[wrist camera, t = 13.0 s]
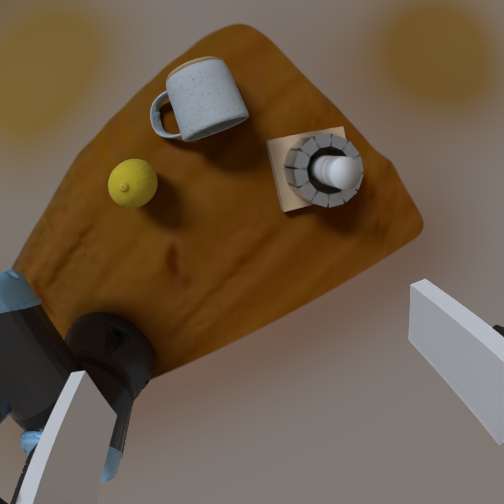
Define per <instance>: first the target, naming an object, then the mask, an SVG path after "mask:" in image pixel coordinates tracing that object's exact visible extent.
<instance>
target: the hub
mask: <svg viewBox="0 0 504 504" xmlns="http://www.w3.org/2000/svg"><path fill="white" fill-rule="evenodd" d="M319 148H321V149H324V150H326V151H327V152H328V153H329V154H330V155H331V156H344V157H351V158H353V159H354V160H356V161H357V163H358V164H359V165H360V169H361V172H363V167H362V161H361V156H357V155H358V154H359V152H358V151H357V150H356V148H355V147H354V146H353V145H352V143H351V142H350V141H347V139H345V138H343V137H340V136H338V135H335V134H330V133H328V134H322V135H315V136H310V137H305V138H302V139H299V140H298V141H297V142H296V143H295V144H294V145H292V146H291V147H290V148H289V150H290V151H287V154H286V158H285V161H284V164H283V165H285V166H288V167H285V168H283V169H284V174H285V178H286V182H287V183H289V184H288V185H289V186H290V188H291V189H292V190H293V191H294V192H295V193H296V194H297V195H298V196H300V197H302V198H303V199H305V200H307V201H309V202H311V203H314V204H317V205H320V206H323V207H326V208H327V207H329V208H330V207H334V206H338V205H342V204H344V202H348V201H349V200H350V199H351V198H352V197H353V196H354V195H355V194H356V193H357V191H356V190H355V189H358V190H359V187H360V184H361V180H362V177H363V174H361V179H360V181H359V183H358V184H357V186H356V187H354V188H355V189H354V188H353V189H350V190H342V189H339V188H336V187H332V186H329V185H326V186H325V187H323V188H318V189H315V188H314V187H313V185H312V184H311V183H310V182H309V178H308V173H307V166H308V163H309V159H310V157H311V156H312V155H313V154H314V153H315V152H316V151H317V150H318V149H319Z"/></svg>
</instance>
